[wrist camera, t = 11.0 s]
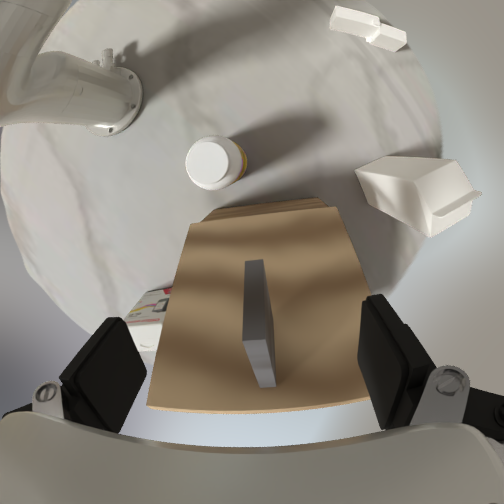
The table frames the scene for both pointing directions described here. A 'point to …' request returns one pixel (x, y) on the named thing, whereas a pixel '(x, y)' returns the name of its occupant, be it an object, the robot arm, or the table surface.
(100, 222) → the table surface
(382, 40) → the white stepped block
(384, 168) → the milk
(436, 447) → the robot arm
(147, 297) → the ink box
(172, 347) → the lid
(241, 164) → the supplement bottle
